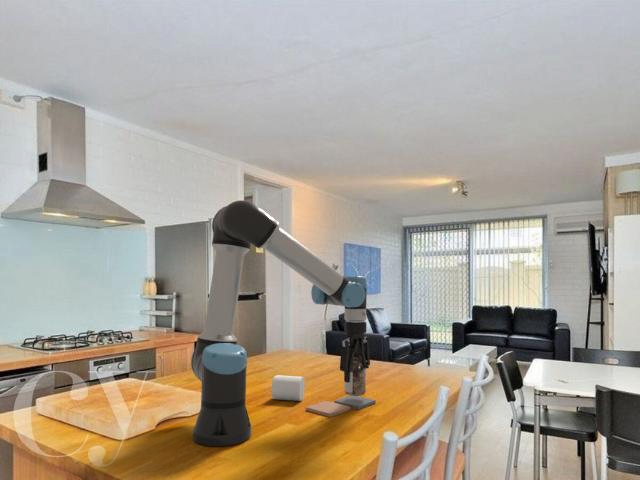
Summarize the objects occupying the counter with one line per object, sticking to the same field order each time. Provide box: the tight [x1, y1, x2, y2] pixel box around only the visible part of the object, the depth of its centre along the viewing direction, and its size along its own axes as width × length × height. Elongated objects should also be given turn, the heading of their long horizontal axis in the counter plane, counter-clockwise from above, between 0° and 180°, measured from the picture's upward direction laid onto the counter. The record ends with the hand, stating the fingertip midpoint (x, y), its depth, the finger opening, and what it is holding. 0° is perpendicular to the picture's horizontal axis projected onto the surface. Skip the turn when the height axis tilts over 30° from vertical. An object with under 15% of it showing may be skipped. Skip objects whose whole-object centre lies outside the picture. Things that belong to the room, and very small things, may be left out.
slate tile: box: [333, 395, 377, 411], centre depth 150 cm, size 10×10×1 cm
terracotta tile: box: [305, 400, 351, 418], centre depth 142 cm, size 10×10×1 cm
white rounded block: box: [270, 374, 306, 402], centre depth 156 cm, size 12×10×8 cm
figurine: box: [344, 356, 367, 397], centre depth 151 cm, size 7×7×12 cm
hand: (355, 389), depth 150 cm, fingers closed on figurine, 7 cm apart
